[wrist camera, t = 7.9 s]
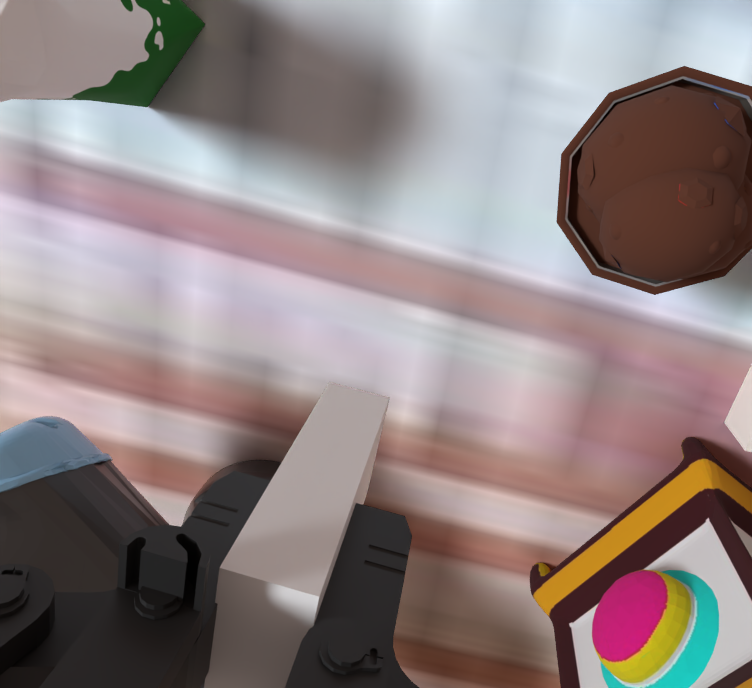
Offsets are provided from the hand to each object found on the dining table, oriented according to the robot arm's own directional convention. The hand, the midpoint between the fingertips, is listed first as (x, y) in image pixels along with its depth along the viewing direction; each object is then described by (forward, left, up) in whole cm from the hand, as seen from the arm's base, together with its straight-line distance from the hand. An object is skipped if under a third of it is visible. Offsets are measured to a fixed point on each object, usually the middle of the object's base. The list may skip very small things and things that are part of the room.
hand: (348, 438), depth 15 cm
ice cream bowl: (+6, -11, -31) cm, 33 cm away
